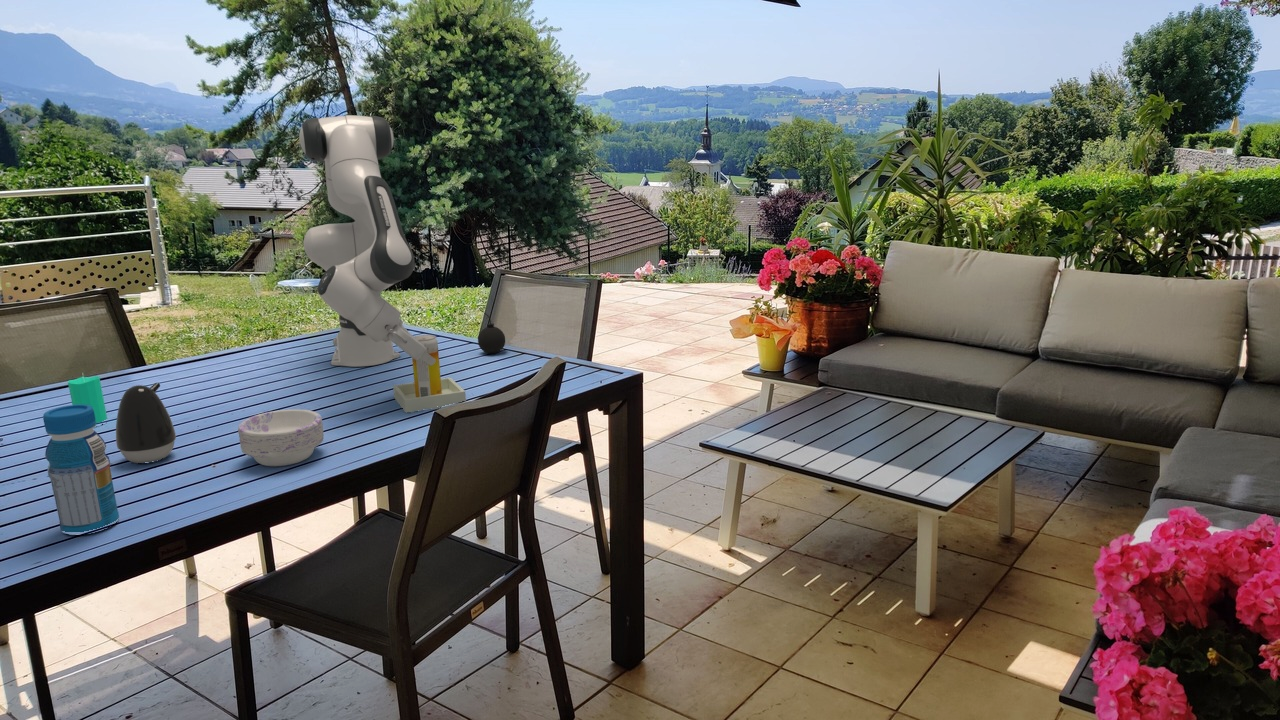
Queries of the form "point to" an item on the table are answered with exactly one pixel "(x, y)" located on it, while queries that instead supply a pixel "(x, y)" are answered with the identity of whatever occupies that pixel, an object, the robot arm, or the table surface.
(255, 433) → the paper bowls
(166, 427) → the pump dispenser
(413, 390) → the tray
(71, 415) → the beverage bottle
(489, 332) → the bomb
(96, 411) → the candle
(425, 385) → the beer can
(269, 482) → the table surface
